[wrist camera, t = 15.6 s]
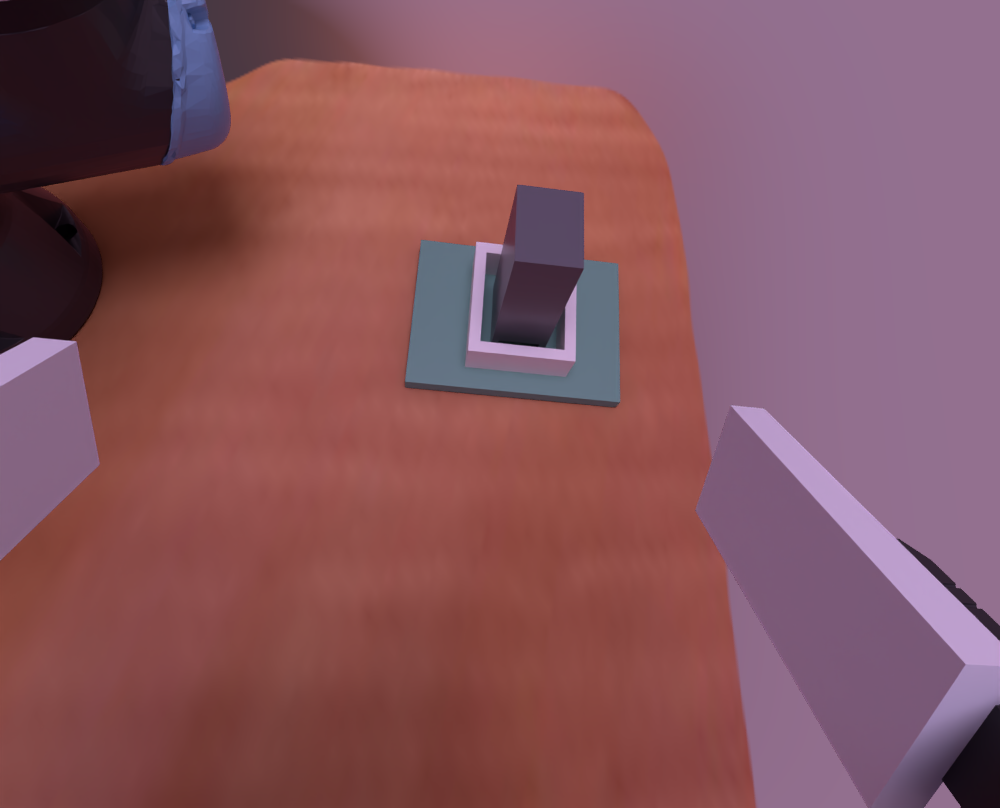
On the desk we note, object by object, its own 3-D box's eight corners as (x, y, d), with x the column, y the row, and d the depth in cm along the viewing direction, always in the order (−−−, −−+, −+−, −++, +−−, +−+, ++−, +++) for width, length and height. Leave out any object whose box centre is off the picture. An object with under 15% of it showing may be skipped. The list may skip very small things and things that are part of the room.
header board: (405, 387, 44) (404, 365, 40) (421, 248, 48) (421, 216, 44) (615, 407, 46) (633, 388, 42) (613, 271, 50) (630, 242, 46)
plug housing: (489, 348, 44) (514, 260, 33) (493, 287, 46) (517, 184, 35) (542, 353, 45) (584, 268, 34) (543, 292, 47) (583, 192, 35)
